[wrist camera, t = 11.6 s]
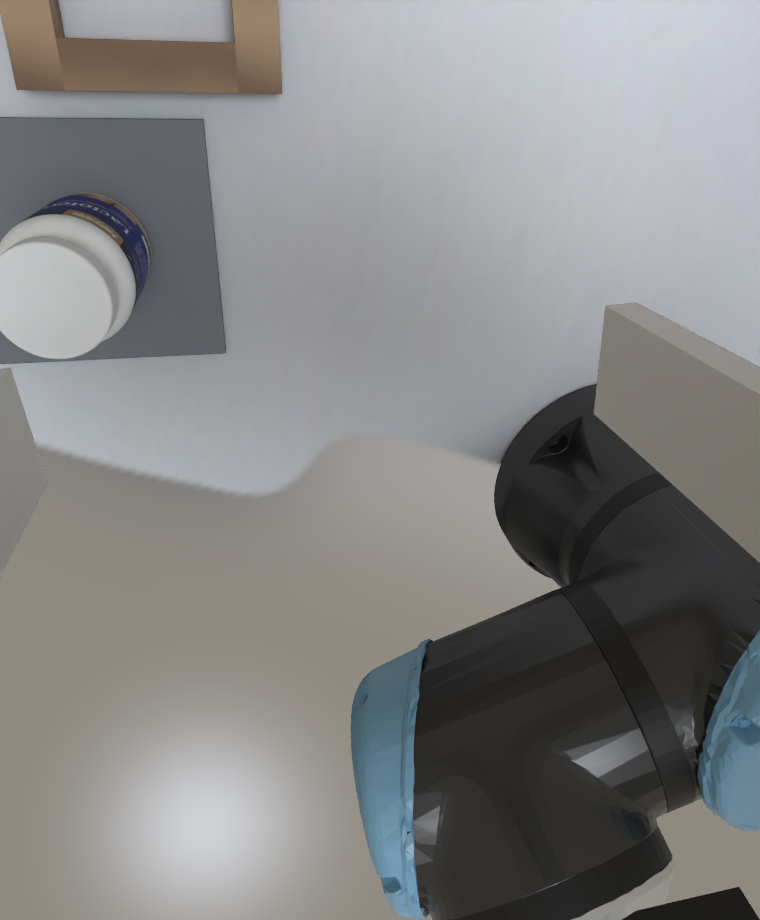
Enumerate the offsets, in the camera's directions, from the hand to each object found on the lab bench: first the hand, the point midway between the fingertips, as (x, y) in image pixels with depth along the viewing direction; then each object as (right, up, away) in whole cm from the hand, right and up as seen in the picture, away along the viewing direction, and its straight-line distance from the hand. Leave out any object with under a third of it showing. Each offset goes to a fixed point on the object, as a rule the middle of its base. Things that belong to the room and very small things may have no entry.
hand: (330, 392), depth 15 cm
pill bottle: (-14, +9, +20) cm, 26 cm away
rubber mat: (-14, +10, +20) cm, 26 cm away
